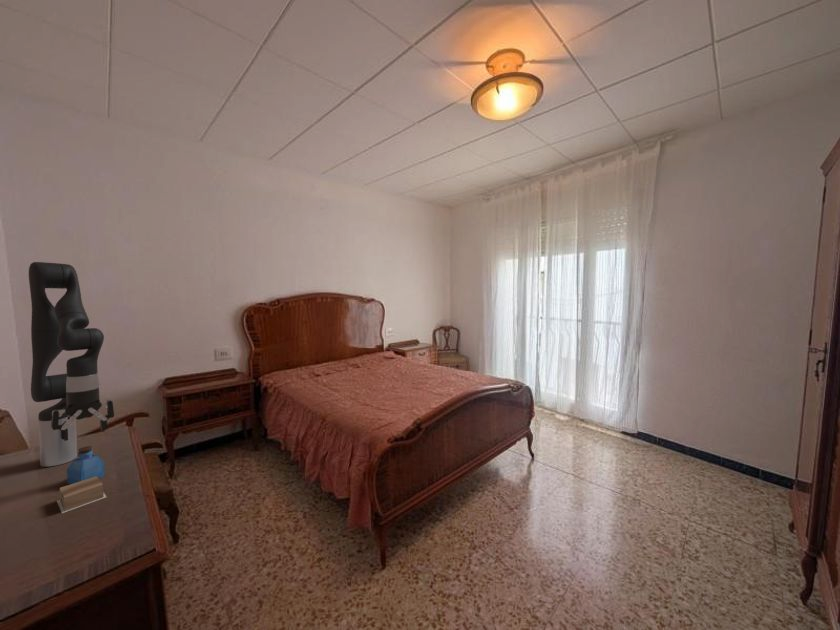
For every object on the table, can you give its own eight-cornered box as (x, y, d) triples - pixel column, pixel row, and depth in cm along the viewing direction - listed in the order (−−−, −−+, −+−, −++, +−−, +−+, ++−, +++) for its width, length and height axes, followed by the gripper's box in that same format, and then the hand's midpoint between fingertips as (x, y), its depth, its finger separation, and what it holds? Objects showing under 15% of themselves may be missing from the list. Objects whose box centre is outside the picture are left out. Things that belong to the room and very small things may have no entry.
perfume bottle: (81, 489, 103) (80, 453, 103) (67, 486, 104) (66, 451, 104) (104, 478, 109) (103, 445, 109) (90, 476, 110) (89, 443, 110)
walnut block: (60, 500, 95) (59, 487, 95) (97, 488, 102) (97, 476, 102) (64, 511, 91) (64, 497, 91) (103, 497, 97) (103, 484, 97)
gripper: (109, 381, 113) (110, 426, 114) (48, 391, 101) (50, 440, 102) (115, 385, 109) (116, 431, 110) (52, 395, 97) (54, 446, 98)
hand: (84, 435), depth 106 cm, fingers open, 8 cm apart
